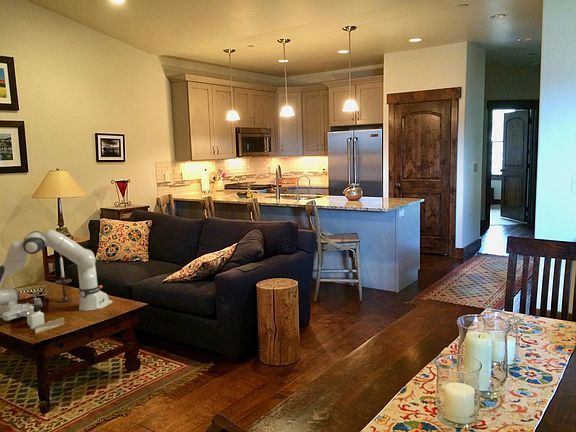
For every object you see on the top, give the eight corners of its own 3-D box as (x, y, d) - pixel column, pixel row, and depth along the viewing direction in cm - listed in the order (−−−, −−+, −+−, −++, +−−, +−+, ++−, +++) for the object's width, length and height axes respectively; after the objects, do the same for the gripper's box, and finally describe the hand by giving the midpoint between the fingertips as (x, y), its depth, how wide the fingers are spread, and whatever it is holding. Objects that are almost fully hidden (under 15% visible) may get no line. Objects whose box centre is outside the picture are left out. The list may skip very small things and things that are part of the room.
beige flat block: (25, 330, 283) (24, 324, 282) (53, 321, 298) (53, 314, 298) (36, 333, 277) (35, 327, 277) (64, 324, 292) (63, 317, 292)
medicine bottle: (39, 321, 298) (37, 303, 296) (44, 324, 293) (42, 305, 292) (27, 325, 292) (25, 306, 291) (32, 327, 288) (30, 308, 286)
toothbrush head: (33, 294, 346) (42, 296, 327) (34, 303, 346) (43, 306, 327) (25, 295, 342) (34, 298, 323) (26, 305, 343) (35, 308, 324)
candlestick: (53, 302, 337) (48, 253, 332) (64, 297, 347) (59, 250, 342) (65, 303, 334) (61, 254, 329) (76, 298, 344) (72, 250, 339)
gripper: (-3, 311, 295) (9, 314, 288) (29, 301, 312) (42, 304, 305) (-2, 321, 296) (10, 324, 289) (30, 311, 313) (43, 314, 306)
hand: (27, 314), depth 297 cm, fingers closed
